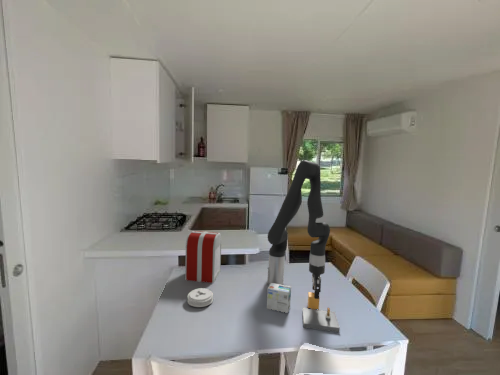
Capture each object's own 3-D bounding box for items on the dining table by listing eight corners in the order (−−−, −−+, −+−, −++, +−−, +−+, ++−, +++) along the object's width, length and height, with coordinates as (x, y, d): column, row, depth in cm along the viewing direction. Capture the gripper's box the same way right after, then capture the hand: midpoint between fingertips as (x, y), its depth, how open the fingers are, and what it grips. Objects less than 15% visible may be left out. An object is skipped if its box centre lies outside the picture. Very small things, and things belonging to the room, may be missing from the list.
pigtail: (325, 319, 116) (326, 309, 116) (325, 316, 119) (325, 307, 118) (330, 320, 116) (331, 310, 116) (330, 317, 118) (330, 307, 118)
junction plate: (303, 327, 113) (303, 323, 113) (302, 311, 125) (302, 307, 125) (339, 332, 111) (339, 327, 111) (334, 315, 123) (334, 311, 123)
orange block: (308, 308, 128) (309, 297, 128) (307, 303, 133) (308, 291, 132) (318, 309, 127) (319, 298, 127) (317, 304, 132) (318, 293, 132)
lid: (199, 292, 139) (199, 283, 139) (218, 299, 133) (218, 290, 133) (182, 303, 128) (182, 294, 128) (201, 312, 122) (202, 301, 122)
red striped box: (194, 268, 169) (195, 228, 166) (220, 271, 166) (222, 230, 164) (184, 280, 153) (185, 235, 150) (213, 283, 150) (214, 237, 147)
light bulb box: (290, 306, 129) (291, 285, 128) (287, 314, 123) (289, 292, 122) (269, 302, 133) (270, 281, 132) (266, 309, 126) (267, 287, 125)
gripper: (308, 256, 136) (306, 286, 137) (310, 267, 122) (309, 300, 123) (322, 257, 135) (321, 287, 136) (327, 268, 121) (325, 302, 122)
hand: (315, 294), depth 130 cm, fingers open, 8 cm apart
